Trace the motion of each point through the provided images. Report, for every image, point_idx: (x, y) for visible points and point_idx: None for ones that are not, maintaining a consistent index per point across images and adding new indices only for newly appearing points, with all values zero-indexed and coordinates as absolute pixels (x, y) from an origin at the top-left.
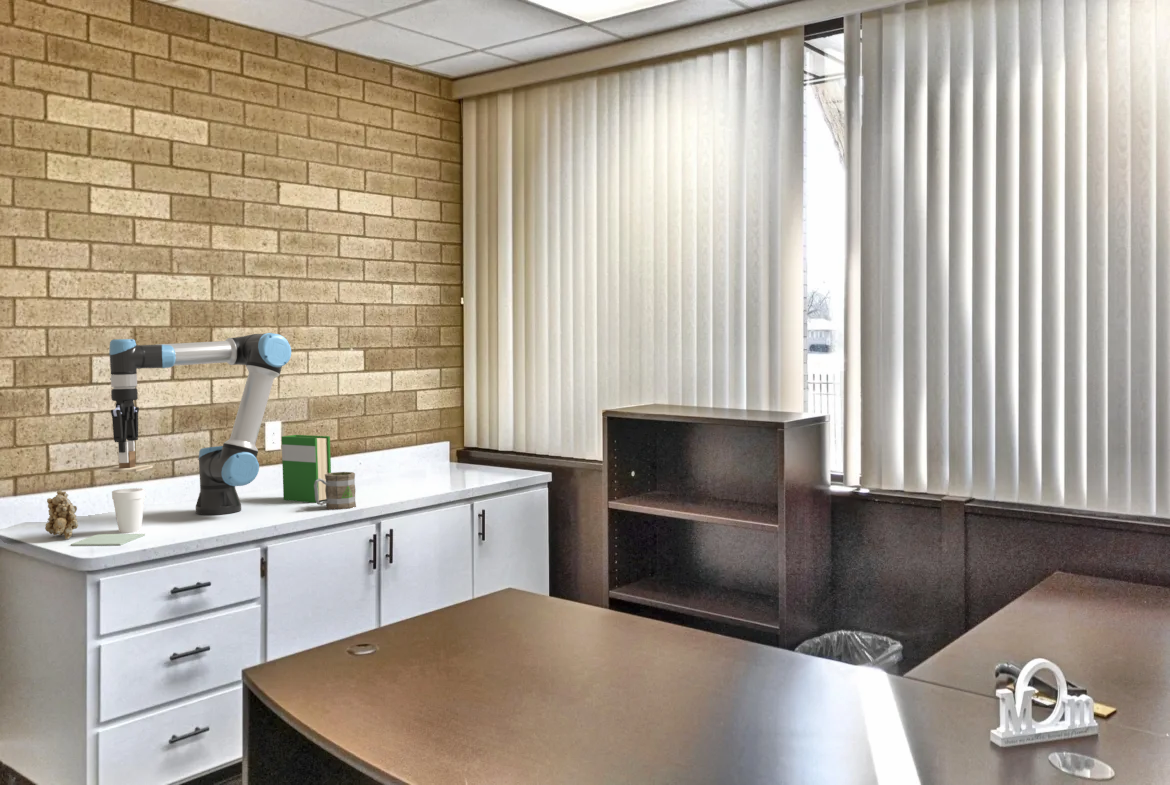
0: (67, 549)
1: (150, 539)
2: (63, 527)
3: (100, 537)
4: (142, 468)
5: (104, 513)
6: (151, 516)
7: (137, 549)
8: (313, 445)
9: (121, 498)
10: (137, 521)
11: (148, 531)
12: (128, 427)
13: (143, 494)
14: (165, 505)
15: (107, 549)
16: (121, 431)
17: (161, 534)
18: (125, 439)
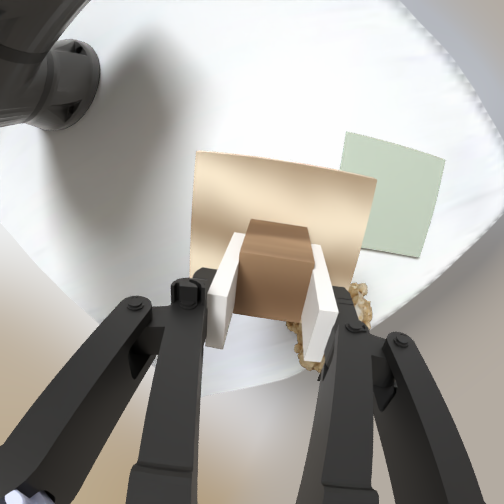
0: (446, 249)
1: (396, 108)
2: (366, 302)
3: (368, 222)
4: (309, 165)
5: (82, 304)
6: (99, 206)
7: (480, 119)
8: None
9: None
10: None
11: (292, 138)
12: (198, 414)
13: (283, 159)
14: (17, 227)
15: (469, 175)
16: (427, 387)
17: (340, 95)
18: (354, 330)
